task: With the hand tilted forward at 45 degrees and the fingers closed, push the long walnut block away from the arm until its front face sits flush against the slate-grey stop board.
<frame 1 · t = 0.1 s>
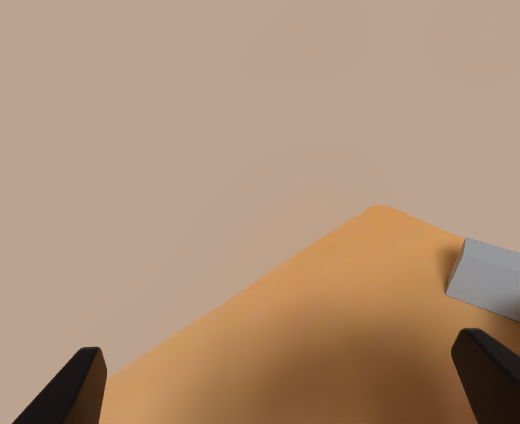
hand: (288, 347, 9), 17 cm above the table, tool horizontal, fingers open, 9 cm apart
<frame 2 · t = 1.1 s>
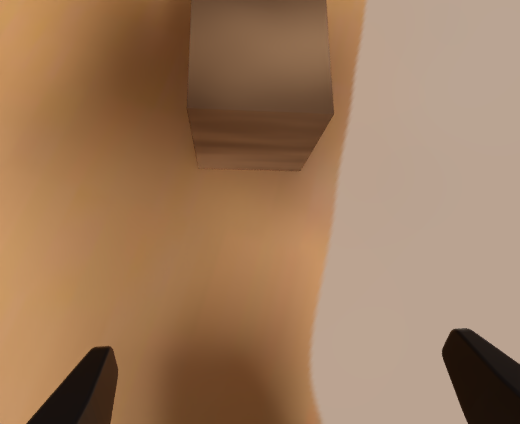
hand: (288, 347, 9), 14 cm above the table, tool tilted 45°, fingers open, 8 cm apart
walnut block: (249, 81, 26), on the table
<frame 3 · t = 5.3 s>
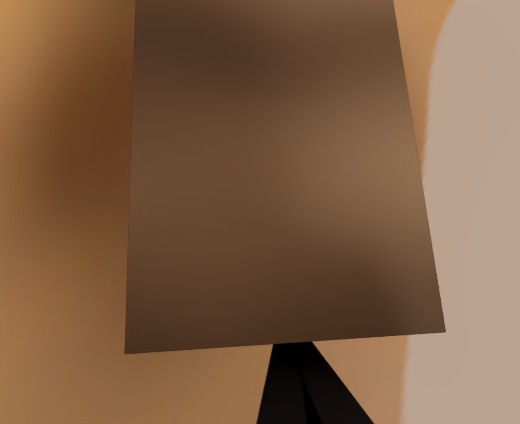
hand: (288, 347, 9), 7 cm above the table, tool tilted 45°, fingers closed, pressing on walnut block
walnut block: (250, 165, 17), on the table, touching gripper
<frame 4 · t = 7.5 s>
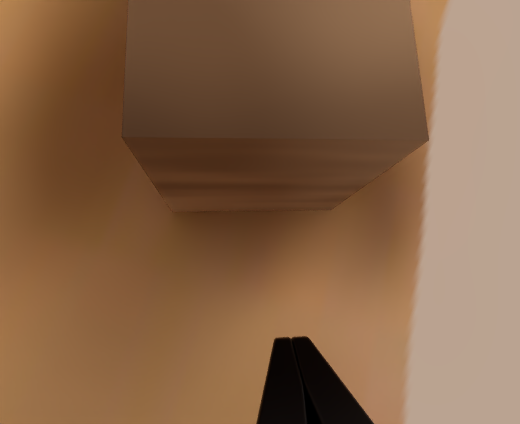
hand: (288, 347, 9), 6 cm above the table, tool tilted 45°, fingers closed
walnut block: (248, 69, 17), on the table
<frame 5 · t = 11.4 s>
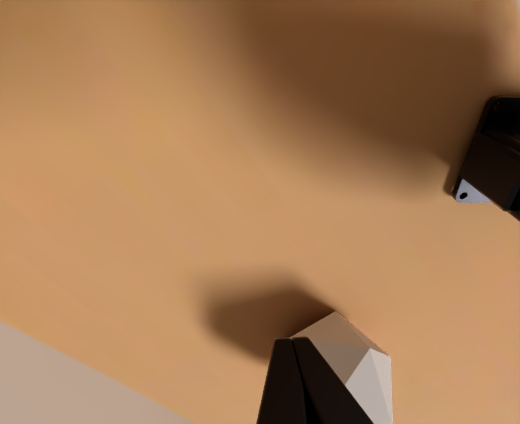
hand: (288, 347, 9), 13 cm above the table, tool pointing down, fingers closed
die: (318, 333, 29), on the table
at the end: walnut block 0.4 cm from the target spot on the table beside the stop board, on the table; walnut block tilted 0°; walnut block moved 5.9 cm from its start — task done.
